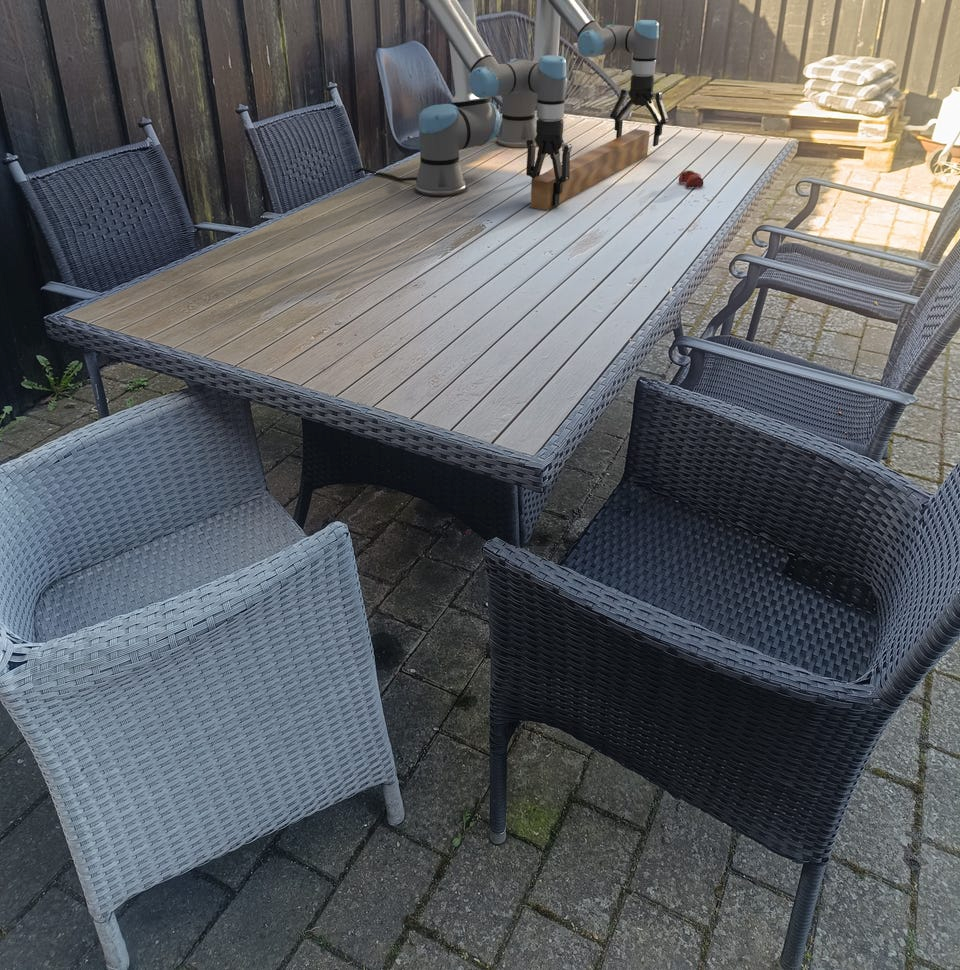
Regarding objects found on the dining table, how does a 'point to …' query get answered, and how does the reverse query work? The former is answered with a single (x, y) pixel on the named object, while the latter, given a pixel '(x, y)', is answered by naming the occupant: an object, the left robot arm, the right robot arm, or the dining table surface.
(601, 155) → the bar
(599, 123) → the dining table surface
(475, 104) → the left robot arm
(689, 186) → the dark red rounded lump
